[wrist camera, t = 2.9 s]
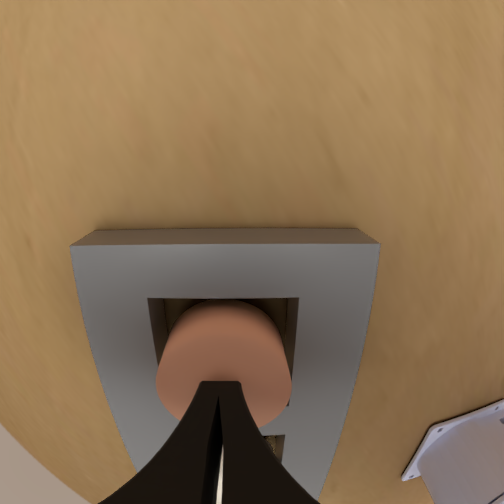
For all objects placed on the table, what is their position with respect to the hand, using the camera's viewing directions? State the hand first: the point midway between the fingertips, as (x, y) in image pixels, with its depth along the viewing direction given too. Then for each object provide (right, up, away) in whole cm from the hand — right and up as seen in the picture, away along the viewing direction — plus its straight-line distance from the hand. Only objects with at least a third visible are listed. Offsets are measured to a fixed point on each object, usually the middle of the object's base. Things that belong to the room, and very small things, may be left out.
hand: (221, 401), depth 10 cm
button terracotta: (0, +1, +3) cm, 3 cm away
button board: (0, -6, +7) cm, 9 cm away
